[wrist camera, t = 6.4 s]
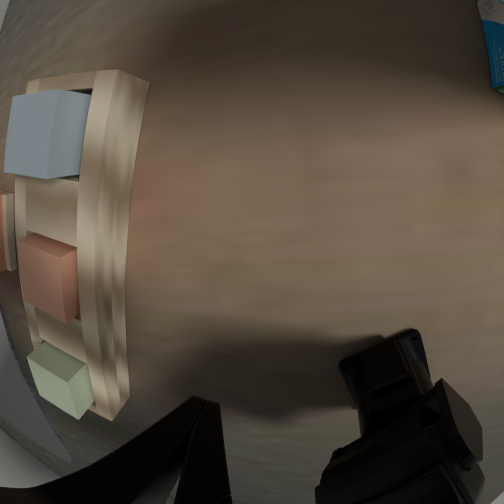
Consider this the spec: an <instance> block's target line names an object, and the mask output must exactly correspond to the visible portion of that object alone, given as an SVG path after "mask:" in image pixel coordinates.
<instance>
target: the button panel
mask: <svg viewBox="0 0 504 504" xmlns="http://www.w3.org/2000/svg"><path fill="white" fill-rule="evenodd" d="M149 85H150V82H148V81H145V80H143V79H141V78H138V77H136V76H133V75H131V74H128V73H126V72H123V71H121V70H118V69H114V70H101V71H91V72H82V73H74V74H67V75H61V76H55V77H49V78H43V79H38V80H33V81H29V82H28V86H27V91H26V94H29V93H35V92H42V91H49V90H57V89H61V90H67V91H72V92H78V93H83V94H88V95H92V96H91V101H90V106H89V111H88V116H87V122H86V128H85V134H84V141H83V149H82V157H81V166H80V174H78V175H71V176H64V177H57V178H51V179H43V178H37V177H31V176H25V175H19V174H16V175H15V231H16V247H17V240H18V239H21V238H24V237H26V236H29V235H32V234H34V233H38V234H40V235H43V236H46V237H49V238H52V239H55V240H57V241H60V242H63V243H66V244H69V245H72V246H75V247H77V275H78V292H79V304H80V313H79V314H78V315H77V316H76V317H74V318H73V319H72V320H70V321H69V322H68V323H64V322H62V321H60V320H58V319H56V318H54V317H53V316H51V315H49V314H47V313H45V312H43V311H41V310H40V309H38V308H36V307H34V306H33V305H31V304H29V303H27V302H26V301H24V296H23V290H22V283H21V276H20V268H19V258H18V247H17V258H18V268H19V276H20V283H21V290H22V296H23V302H24V307H25V313H26V318H27V322H28V327H29V331H30V336H31V340H32V344H33V347H34V350H35V349H36V348H38V347H39V346H40V345H41V344H43V343H44V342H45V341H47V342H49V343H50V344H52V345H54V346H55V347H57V348H59V349H61V350H62V351H64V352H66V353H68V354H70V355H72V356H73V357H75V358H77V359H79V360H81V361H83V362H85V363H87V365H88V370H89V375H90V381H91V385H92V390H93V395H94V399H95V401H94V402H93V403H92V404H91V406H90V407H89V408H88V409H89V410H91V411H93V412H95V413H97V414H99V415H101V416H102V417H104V418H106V419H108V420H110V421H113V419H114V418H115V417H116V415H117V414H118V412H119V411H120V410H121V408H122V407H123V405H124V404H125V402H126V401H127V400H128V398H129V397H130V388H129V377H128V363H127V346H126V314H125V286H126V254H127V236H128V222H129V211H130V200H131V191H132V182H133V174H134V167H135V160H136V153H137V147H138V141H139V135H140V129H141V124H142V118H143V113H144V108H145V103H146V99H147V94H148V90H149Z"/></svg>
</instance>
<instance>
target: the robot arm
mask: <svg viewBox="0 0 504 504" xmlns="http://www.w3.org/2000/svg"><path fill="white" fill-rule="evenodd" d="M414 335H416V336H415V337H414V338H412V336H414ZM344 365H348V366H346V367H344ZM339 370H340V372H341V374H342V376H343V378H344V380H345V382H346V384H347V386H348V388H349V390H350V392H351V395H352V397H353V399H354V401H355V403H356V405H357V410H358V418H359V425H360V434H361V437H360V438H359V439H357V440H355V441H354V442H352V443H350V444H348V445H347V446H345V447H343V448H338V449H337V450H335V451H333V454H332V457H331V459H330V462H329V464H328V465H327V466H326V468H325V469H324V471H323V473H322V477H321V481H320V485H318V486H316V488H315V502H316V504H480V503H481V499H482V494H483V489H484V483H485V478H484V475H483V473H482V471H481V468H480V466H479V464H478V463H479V462H480V461H482V459H483V441H482V427H481V425H480V423H479V421H478V420H477V418H476V416H475V414H474V412H473V411H472V409H471V407H470V406H469V404H468V403H467V402H466V401H465V400H464V399H463V398H462V397H461V396H460V395H459V394H458V393H457V392H456V391H455V390H454V389H453V388H452V387H451V386H450V385H449V384H448V383H447V382H446V381H445V380H443V379H442V378H441V379H440V380H439V381H437V382H436V383H435V386H433V384H432V382H431V378H430V373H429V368H428V364H427V359H426V355H425V351H424V346H423V342H422V338H421V335H420V333H419V331H418V330H417V329H413V330H411V331H408V332H406V333H404V334H402V335H400V336H398V337H396V338H393V339H391V340H389V341H386V342H384V343H382V344H380V345H377V346H375V347H373V348H370V349H368V350H365V351H363V352H361V353H358V354H356V355H353V356H351V357H348V358H346V359H343V360H341V361H340V362H339ZM180 474H181V476H180ZM179 476H180V480H179V485H178V489H177V493H176V497H175V501H174V504H232V497H231V496H230V495H231V491H230V484H229V477H228V470H227V462H226V454H225V446H224V438H223V429H222V420H221V411H220V404H219V403H217V402H214V401H211V400H207V401H206V400H205V399H204V398H201V397H198V396H191V397H190V398H189V399H187V400H186V401H185V402H183V403H182V404H180V405H179V406H178V407H176V408H175V409H174V410H172V411H171V412H170V413H168V414H167V415H165V416H164V417H163V418H161V419H160V420H158V421H157V422H155V423H154V424H153V425H151V426H150V427H148V428H147V429H145V430H144V431H143V432H141V433H140V434H138V435H137V436H135V437H134V438H132V439H131V440H129V441H128V442H126V443H125V444H123V445H122V446H120V447H119V448H117V449H115V450H114V451H113V452H112V453H109V454H107V455H106V456H104V457H103V458H101V459H99V460H98V461H96V462H94V463H92V464H91V465H89V466H87V467H85V468H82V469H80V470H78V471H76V472H74V473H71V474H69V475H66V476H64V477H61V478H59V479H56V480H53V481H51V482H48V483H45V484H42V485H39V486H36V487H31V488H8V487H0V504H164V503H165V502H166V500H167V498H168V496H169V495H170V493H171V491H172V489H173V487H174V485H175V484H176V482H177V480H178V478H179Z"/></svg>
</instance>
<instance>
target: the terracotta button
mask: <svg viewBox="0 0 504 504" xmlns="http://www.w3.org/2000/svg"><path fill="white" fill-rule="evenodd" d="M17 247H18V258H19V268H20V276H21V283H22V290H23V296H24V301H26V302H27V303H29V304H31V305H33V306H34V307H36V308H38V309H40V310H41V311H43V312H45V313H47V314H49V315H51V316H53V317H54V318H56V319H58V320H60V321H62V322H64V323H68V322H69V321H70V320H72V319H73V318H74V317H76V316H77V315H78V314H79V313H80V304H79V292H78V275H77V247H75V246H72V245H69V244H66V243H63V242H60V241H57V240H55V239H52V238H49V237H46V236H43V235H40V234H38V233H34V234H32V235H29V236H26V237H24V238H21V239H18V240H17Z"/></svg>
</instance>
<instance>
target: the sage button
mask: <svg viewBox="0 0 504 504" xmlns="http://www.w3.org/2000/svg"><path fill="white" fill-rule="evenodd" d="M27 360H28V363H29V366H30V369H31V372H32V375H33V378H34V381H35V384H36V386H37V389H38V392H39V394H40V396H42V397H43V398H45V399H46V400H48V401H49V402H51V403H52V404H54V405H55V406H57V407H58V408H60V409H62V410H63V411H65V412H67V413H68V414H70V415H71V416H73V417H75V418H77V419H78V420H79V419H80V418H81V417H82V415H83V414H84V413H85V412H86V410H87V409H88V408H89V407H90V406H91V404H92V403H93V402H94V401H95V399H94V395H93V390H92V385H91V381H90V375H89V370H88V365H87V363H85V362H83V361H81V360H79V359H77V358H75V357H73V356H72V355H70V354H68V353H66V352H64V351H62V350H61V349H59V348H57V347H55V346H54V345H52V344H50V343H49V342H47V341H45V342H44V343H43V344H41V345H40V346H39V347H38V348H36V349H35V350H34V351H33V352H32V353H30V354H29V355H28V356H27Z"/></svg>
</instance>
